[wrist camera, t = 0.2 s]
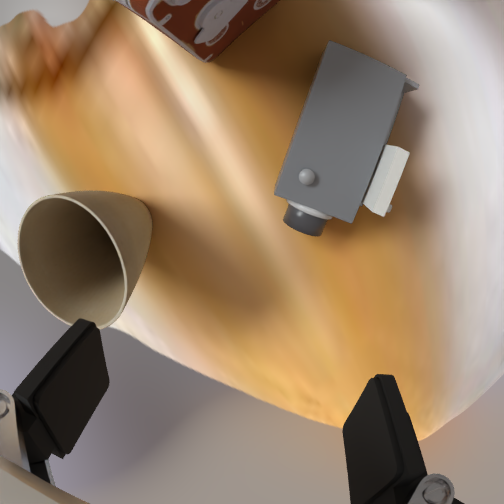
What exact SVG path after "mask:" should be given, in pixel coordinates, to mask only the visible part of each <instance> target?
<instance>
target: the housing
mask: <svg viewBox="0 0 504 504" xmlns="http://www.w3.org/2000/svg"><path fill="white" fill-rule="evenodd" d="M406 76H407V75H405V74H403V73H401V72H400V71H398V70H396V69H394V68H392V67H390V66H388V65H386V64H384V63H382V62H380V61H378V60H375V59H373V58H371V57H369V56H367V55H364V54H362V53H360V52H358V51H355V50H353V49H351V48H348V47H346V46H343V45H341V44H338V43H336V42H333V41H330V40H329V42H328V44H327V45H326V47H325V49H324V51H323V53H322V56H321V58H320V61H319V64H318V67H317V70H316V72H315V75H314V78H313V81H312V84H311V86H310V89H309V92H308V95H307V98H306V100H305V103H304V106H303V109H302V112H301V114H300V117H299V120H298V123H297V126H296V128H295V131H294V134H293V137H292V140H291V142H290V145H289V148H288V151H287V154H286V156H285V159H284V162H283V165H282V168H281V170H280V173H279V176H278V179H277V182H276V184H275V191H274V195H276V196H279V197H282V198H285V199H287V202H288V203H289V205H288V208H287V211H286V213H285V216H284V219H283V221H284V222H285V223H286V224H287V225H288V226H290V227H291V228H293V229H295V230H297V231H299V232H302V233H304V234H308V235H311V236H321V234H322V232H323V229H324V227H325V225H326V222H327V220H328V219H332V217H336V218H338V219H341V220H344V221H346V222H349V223H351V224H352V222H353V220H354V218H355V215H356V213H357V211H358V208H359V206H362V205H363V203H362V202H361V201H362V199H363V196H364V194H365V191H366V189H367V186H368V184H369V181H370V179H371V176H372V174H373V171H374V169H375V166H376V163H377V161H378V158H379V156H380V153H381V150H382V147H383V145H386V144H387V142H388V139H389V136H390V133H391V130H392V128H393V125H394V122H395V119H396V116H397V113H398V110H399V107H400V104H401V101H402V98H403V95H404V93H406V92H409V91H413V90H417V89H418V88H419V84H417V83H415V82H414V81H412V80H410V79H408V78H406Z"/></svg>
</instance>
